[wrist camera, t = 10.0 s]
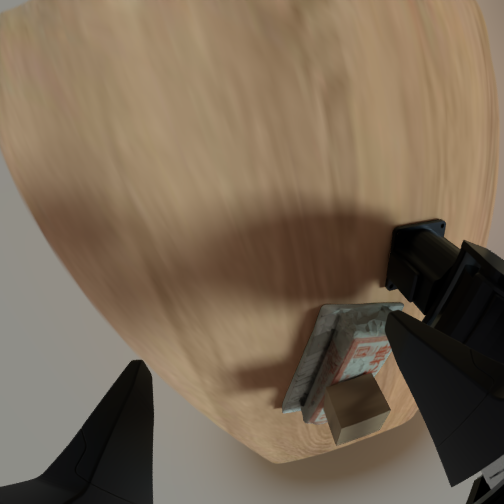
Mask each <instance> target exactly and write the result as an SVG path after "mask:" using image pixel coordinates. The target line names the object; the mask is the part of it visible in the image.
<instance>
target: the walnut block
mask: <svg viewBox="0 0 504 504" xmlns="http://www.w3.org/2000/svg"><path fill="white" fill-rule="evenodd" d="M323 410H324V413H325V416H326V418H327V421H328V424H329V427H330V430H331V433H332V435H333V438H334V441H335V444H336V446H337V445H341V444H344V443H347V442H349V441H352V440H355V439H358V438H361V437H363V436H366V435H369V434H371V433H374V432H376V431H379V430H380V429H381V427H382V425H383V423H384V422H385V420H386V418H387V416H388V415H389V413H390V411H391V409H390V407H389V405H388V403H387V401H386V399H385V397H384V395H383V394H382V392H381V390H380V388H379V386H378V384H377V382H376V380H375V378H374V376H373V374H372V373H368V374H365V375H362V376H359V377H356V378H353V379H350V380H347V381H344V382H341V383H338V384H335V385H331V386H328V387H326V389H325V399H324V407H323Z"/></svg>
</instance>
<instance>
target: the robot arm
mask: <svg viewBox="0 0 504 504" xmlns="http://www.w3.org/2000/svg"><path fill="white" fill-rule="evenodd" d="M445 227H446V222H445V221H443V220H441V219H440V220H435V221H429V222H423V223H418V224H412V225H406V226H401V227H396V228H395V229H394V230H393V234H392V243H391V251H390V256H389V263H388V270H387V278H386V284H385V287H386V288H387V290H389V291H391V290H395V289H398V290H399V291H400V292H401V293H402V294H403V295H404V297H405V298H406V299H407V300H408V301H409V302H413V303H414V304H415V305H416V306H417V307H418V308H419V310H420V311H421V312H422V313H423V314H424V315H426V316H425V317H424V319H423V320H422V322H421V321H419V320H418V319H416V318H414V317H412V316H410V315H408V314H406V313H404V312H402V311H401V310H394V311H391V312H389V313H388V316H387V320H386V324H385V334H386V337H387V339H388V342H389V344H390V347H391V349H392V352H393V354H394V357H395V360H396V362H397V365H398V367H399V369H400V371H401V373H402V375H403V377H404V379H405V381H406V383H407V385H408V387H409V389H410V391H411V393H412V395H413V397H414V399H415V401H416V404H417V406H418V408H419V410H420V412H421V414H422V416H423V419H424V421H425V423H426V425H427V428H428V430H429V432H430V435H431V437H432V439H433V442H434V444H435V447H436V449H437V452H438V454H439V457H440V459H441V462H442V464H443V467H444V469H445V472H446V475H447V477H448V480H449V483H450V485H451V487H453V486H455V485H457V484H459V483H461V482H462V481H464V480H466V479H468V478H469V477H471V476H473V475H474V474H476V473H477V472H479V471H481V472H482V475H481V476H480V477H479V478H477V479H476V480H475V481H474V483H473V486H472V489H471V492H470V494H469V497H468V500H467V502H466V504H504V260H503V259H501V258H500V257H499V256H497V255H496V254H494V253H493V252H491V251H490V250H488V249H487V248H484V247H481V246H479V245H476V244H474V243H471V242H468V241H466V240H463V242H462V245H461V249H459V248H458V247H457V246H455V245H454V244H453V243H451V242H450V241H448V240H447V239H446V238H444V233H445ZM398 232H399V234H398ZM397 234H398V235H397ZM153 426H154V405H153V385H152V376H151V373H150V371H149V369H148V368H147V366H146V364H145V363H144V361H143V360H133V361H131V362H130V363H129V364H128V366H127V367H126V368H125V370H124V371H123V372H122V373H121V375H120V376H119V377H118V379H117V380H116V381H115V383H114V384H113V385H112V387H111V388H110V390H109V391H108V392H107V393H106V395H105V396H104V397H103V399H102V400H101V402H100V403H99V404H98V405H97V407H96V408H95V409H94V411H93V412H92V413H91V415H90V416H89V418H88V419H87V420H86V422H85V423H84V424H83V426H82V429H80V430H79V431H78V433H77V434H76V435H75V437H74V438H73V439H72V441H71V442H70V443H69V445H68V446H67V447H66V448H65V449H64V450H63V452H62V453H61V454H60V455H59V456H58V457H57V459H56V460H55V461H54V462H53V463H52V464H51V465H50V466H49V467H48V469H47V470H46V471H45V472H44V473H43V474H41V475H40V476H39V477H37V478H35V479H32V480H28V481H24V482H20V483H16V484H12V485H7V486H3V487H0V504H153V484H152V483H153V482H152V481H153V479H152V477H153V476H152V464H153V463H152V462H153Z"/></svg>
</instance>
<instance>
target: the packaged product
mask: <svg viewBox="0 0 504 504" xmlns="http://www.w3.org/2000/svg"><path fill="white" fill-rule="evenodd" d="M403 307H404V304H403V303H401V302H399V303H367V304H328V305H324V306H322V307H321V309H320V312H319V315H318V318H317V321H316V323H315V327H314V330H313V332H312V334H311V337H310V339H309V341H308V343H307V346H306V348H305V350H304V353H303V356H302V358H301V360H300V363H299V365H298V367H297V370H296V372H295V374H294V377H293V379H292V382H291V384H290V386H289V389H288V391H287V393H286V396H285V399H284V401H283V405H282V413H290V412H295V411H302V415H303V421H304V422H305V423H313V424H323V423H326V422H328V421H327V418H326V416H325V413H324V410H323V407H324V399H325V389H326V387H328V386H331V385H335V384H338V383H341V382H344V381H347V380H350V379H353V378H356V377H359V376H362V375H365V374H368V373H372V374H373V376H374V377H375V375H376V374H377V373H378V371H379V370H380V368H381V367H382V365H383V364H384V362H385V360H386V359H387V357H388V356H389V354H390V353H391V352H392V349H391V347H390V344H389V342H388V339H387V337H386V334H385V324H386V320H387V316H388V313H389V312H391V311H394V310H401V311H402V309H403Z"/></svg>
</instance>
